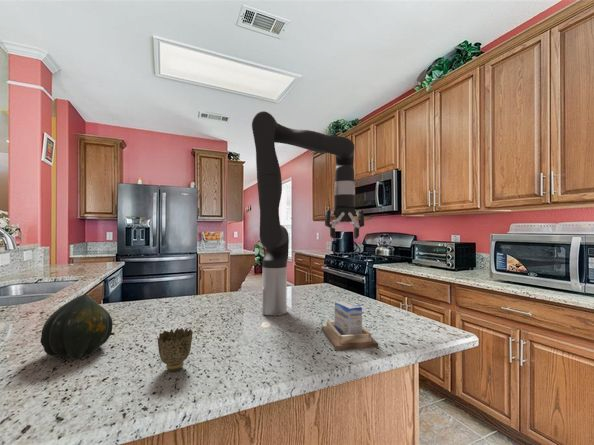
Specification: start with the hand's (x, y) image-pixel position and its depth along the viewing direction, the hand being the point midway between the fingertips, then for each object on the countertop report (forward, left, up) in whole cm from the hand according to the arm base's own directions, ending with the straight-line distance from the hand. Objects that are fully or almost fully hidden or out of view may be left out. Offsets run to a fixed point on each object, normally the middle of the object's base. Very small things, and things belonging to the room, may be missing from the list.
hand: (344, 238), depth 104 cm
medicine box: (-6, -20, -27) cm, 34 cm away
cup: (-51, -31, -28) cm, 66 cm away
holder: (-6, -20, -28) cm, 35 cm away
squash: (-78, -18, -28) cm, 85 cm away
